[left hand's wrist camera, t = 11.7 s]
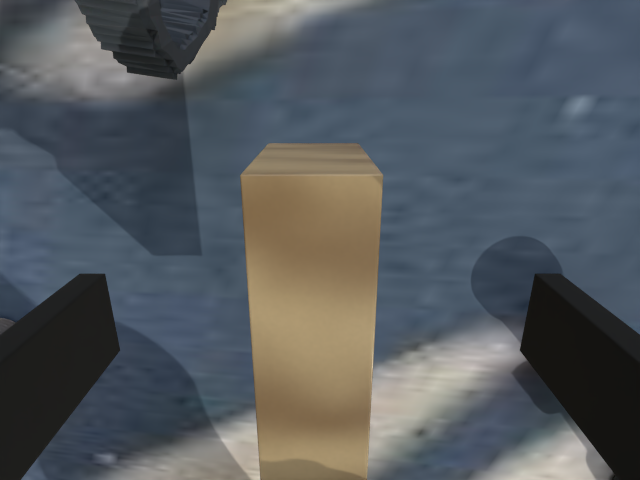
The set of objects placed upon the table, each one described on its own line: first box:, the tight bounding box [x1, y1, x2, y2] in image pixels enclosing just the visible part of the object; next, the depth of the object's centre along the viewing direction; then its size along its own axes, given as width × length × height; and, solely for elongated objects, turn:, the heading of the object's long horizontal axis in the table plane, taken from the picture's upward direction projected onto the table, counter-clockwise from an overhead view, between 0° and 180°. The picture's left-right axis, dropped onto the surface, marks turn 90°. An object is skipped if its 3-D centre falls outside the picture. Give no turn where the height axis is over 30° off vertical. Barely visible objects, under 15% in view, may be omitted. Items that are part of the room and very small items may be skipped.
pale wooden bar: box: [240, 143, 383, 480], centre depth 21 cm, size 26×4×8 cm, turn 0°
